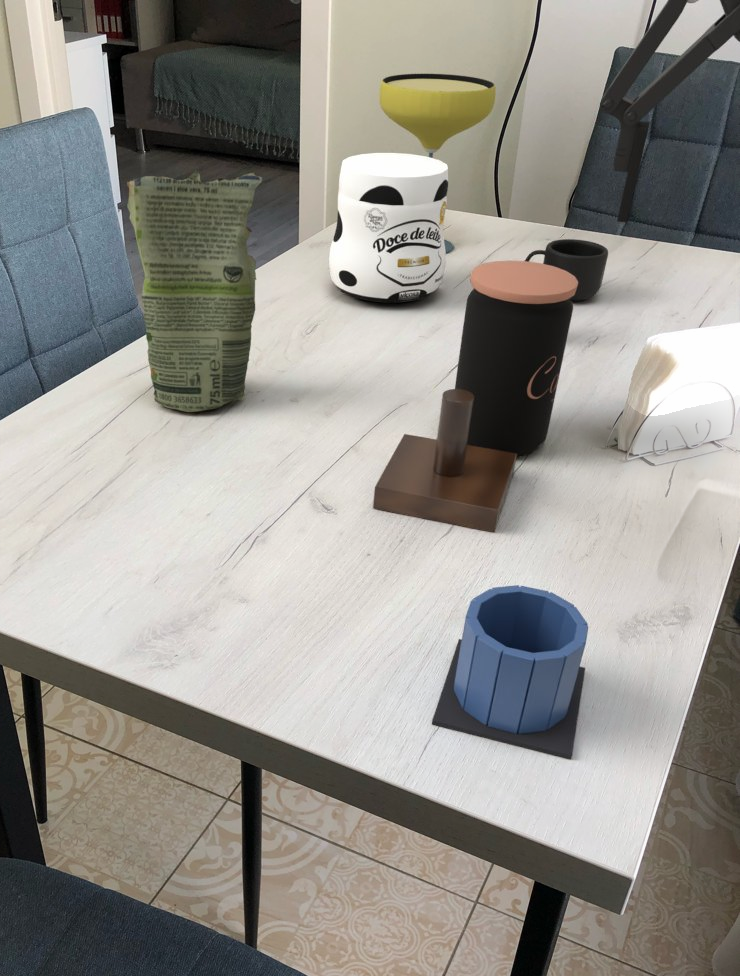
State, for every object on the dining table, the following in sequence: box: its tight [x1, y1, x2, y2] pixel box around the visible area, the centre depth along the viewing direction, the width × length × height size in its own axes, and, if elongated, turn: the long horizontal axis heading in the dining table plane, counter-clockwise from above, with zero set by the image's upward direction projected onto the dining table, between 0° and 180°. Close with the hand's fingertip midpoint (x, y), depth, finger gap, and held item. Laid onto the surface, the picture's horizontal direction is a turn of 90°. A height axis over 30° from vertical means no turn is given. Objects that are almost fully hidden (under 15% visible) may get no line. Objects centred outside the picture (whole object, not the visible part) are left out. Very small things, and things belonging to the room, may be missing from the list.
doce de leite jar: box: [328, 152, 449, 304], centre depth 137 cm, size 17×17×18 cm
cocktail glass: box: [378, 73, 496, 254], centre depth 154 cm, size 18×18×25 cm
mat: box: [431, 638, 586, 760], centre depth 71 cm, size 10×10×1 cm
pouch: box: [126, 169, 263, 413], centre depth 105 cm, size 11×12×25 cm
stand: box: [372, 388, 518, 533], centre depth 92 cm, size 12×12×10 cm
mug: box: [524, 238, 609, 302], centre depth 141 cm, size 12×9×7 cm
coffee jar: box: [454, 260, 578, 459], centre depth 99 cm, size 11×11×18 cm
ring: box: [454, 584, 589, 734], centre depth 69 cm, size 8×8×7 cm
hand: (715, 228), depth 71 cm, fingers open, 13 cm apart
